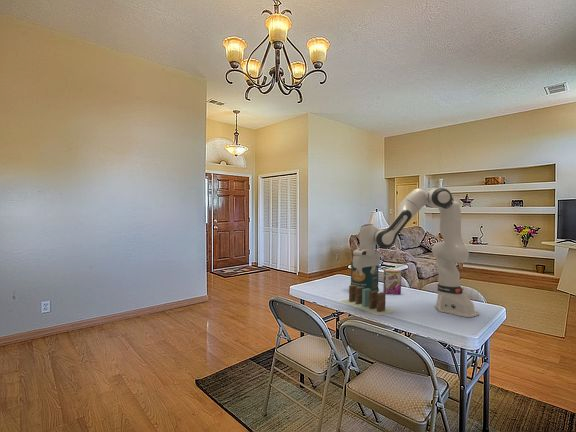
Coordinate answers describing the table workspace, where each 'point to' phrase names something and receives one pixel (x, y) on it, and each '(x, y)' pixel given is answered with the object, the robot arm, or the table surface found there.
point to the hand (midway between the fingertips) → (366, 274)
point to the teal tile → (365, 297)
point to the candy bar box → (392, 281)
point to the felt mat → (367, 308)
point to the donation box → (365, 278)
